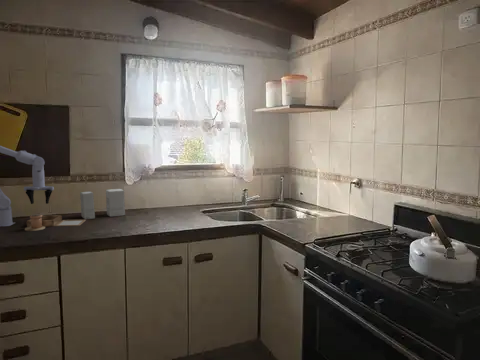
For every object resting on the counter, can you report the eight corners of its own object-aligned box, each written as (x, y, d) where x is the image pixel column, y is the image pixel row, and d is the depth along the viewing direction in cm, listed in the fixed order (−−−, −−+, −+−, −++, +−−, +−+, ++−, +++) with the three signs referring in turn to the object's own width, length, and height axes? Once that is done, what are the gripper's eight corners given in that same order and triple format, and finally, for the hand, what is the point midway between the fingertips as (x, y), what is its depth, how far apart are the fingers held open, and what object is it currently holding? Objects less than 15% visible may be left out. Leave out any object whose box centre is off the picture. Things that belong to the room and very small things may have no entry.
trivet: (21, 232, 190) (21, 230, 189) (29, 227, 198) (29, 225, 198) (41, 231, 191) (41, 229, 191) (47, 227, 200) (47, 225, 200)
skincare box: (95, 218, 221) (94, 192, 219) (83, 219, 218) (82, 193, 216) (91, 216, 228) (90, 190, 226) (80, 217, 225) (79, 191, 223)
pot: (28, 228, 192) (27, 216, 192) (33, 226, 198) (32, 214, 197) (40, 228, 193) (39, 216, 192) (44, 225, 198) (44, 214, 198)
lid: (55, 227, 200) (54, 225, 200) (62, 221, 213) (62, 220, 213) (79, 226, 202) (79, 225, 202) (85, 221, 215) (85, 219, 214)
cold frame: (27, 227, 198) (26, 221, 198) (36, 222, 211) (36, 215, 211) (54, 227, 200) (53, 220, 200) (62, 221, 213) (61, 215, 212)
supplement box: (121, 212, 239) (121, 188, 237) (125, 215, 231) (124, 190, 229) (106, 214, 234) (105, 189, 232) (109, 216, 226) (108, 191, 225)
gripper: (21, 179, 205) (22, 205, 207) (50, 179, 207) (51, 204, 209) (26, 178, 212) (27, 202, 214) (54, 177, 214) (55, 202, 216)
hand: (39, 203), depth 212 cm, fingers open, 7 cm apart
